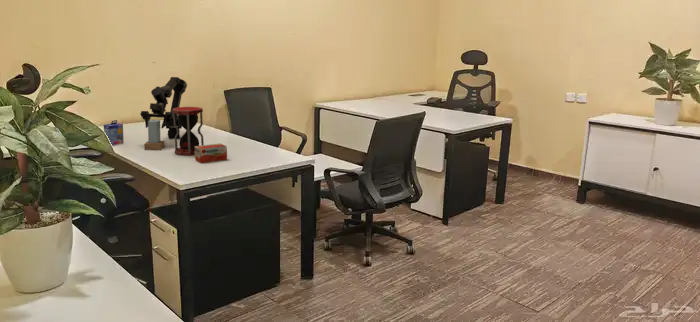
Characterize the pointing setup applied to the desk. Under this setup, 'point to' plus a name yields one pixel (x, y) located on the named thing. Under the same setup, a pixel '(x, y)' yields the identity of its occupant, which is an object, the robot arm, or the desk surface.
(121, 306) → the desk surface
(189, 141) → the hourglass
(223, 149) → the medicine box
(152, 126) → the slate post
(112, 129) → the ink cartridge box
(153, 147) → the walnut block
